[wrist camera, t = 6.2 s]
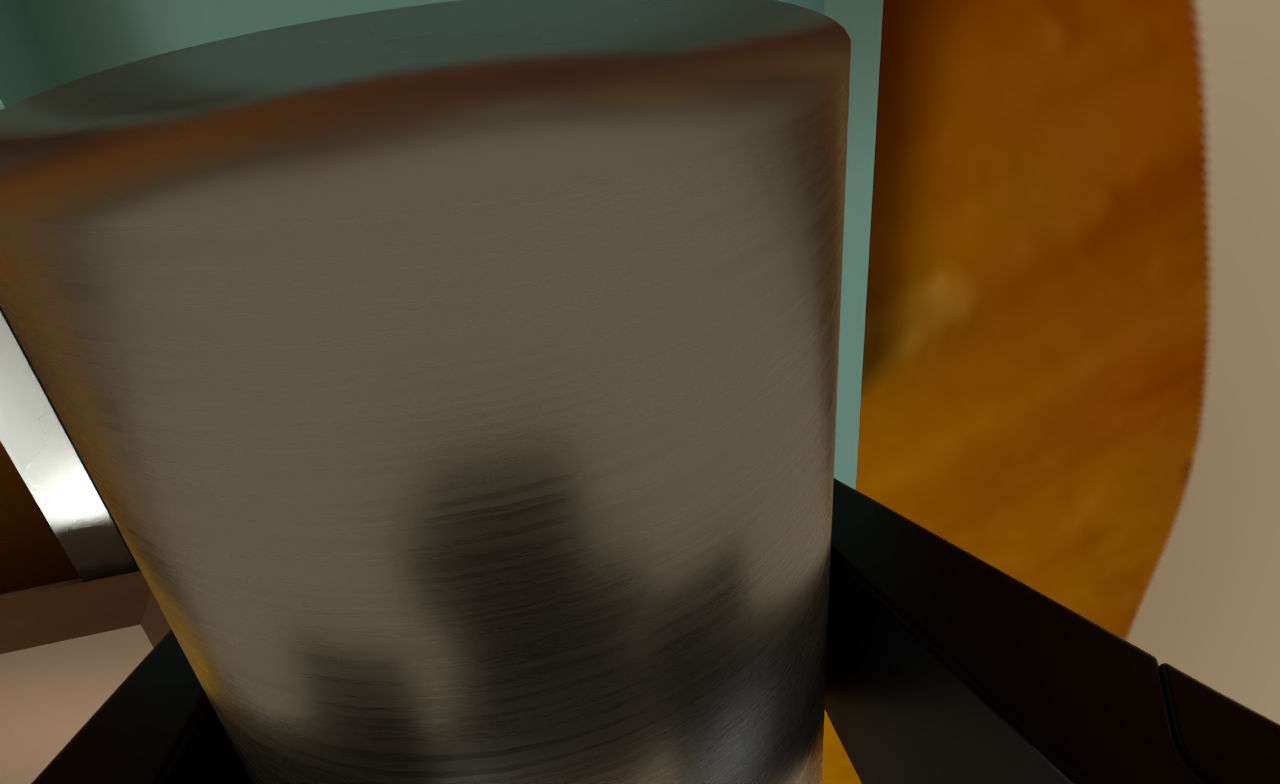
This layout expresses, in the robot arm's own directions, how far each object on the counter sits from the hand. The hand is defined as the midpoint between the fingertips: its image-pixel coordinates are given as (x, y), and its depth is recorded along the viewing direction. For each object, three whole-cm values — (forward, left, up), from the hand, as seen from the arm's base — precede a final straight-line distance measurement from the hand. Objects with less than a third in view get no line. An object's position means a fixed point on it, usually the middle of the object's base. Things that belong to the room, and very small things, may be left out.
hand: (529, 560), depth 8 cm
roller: (0, 0, +1) cm, 1 cm away
